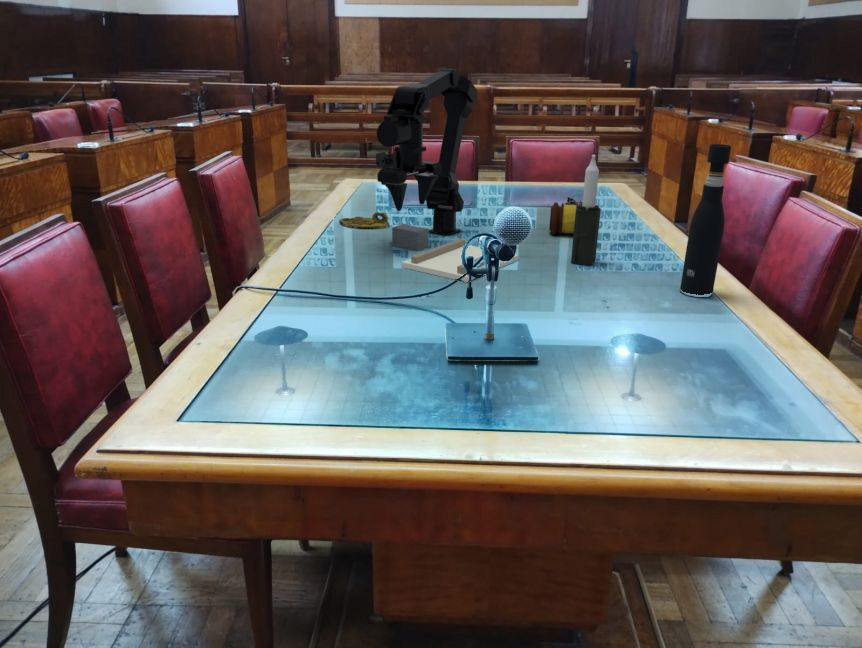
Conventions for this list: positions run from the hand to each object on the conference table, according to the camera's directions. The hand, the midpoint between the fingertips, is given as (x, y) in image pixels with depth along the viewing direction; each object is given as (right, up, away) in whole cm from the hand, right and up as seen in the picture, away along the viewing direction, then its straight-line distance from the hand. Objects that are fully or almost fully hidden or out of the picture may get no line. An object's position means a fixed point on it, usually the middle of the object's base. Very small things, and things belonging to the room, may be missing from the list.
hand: (410, 207), depth 170 cm
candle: (+41, -14, -7) cm, 44 cm away
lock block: (0, -9, +4) cm, 10 cm away
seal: (-14, -1, +24) cm, 28 cm away
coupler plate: (+12, -15, -9) cm, 21 cm away
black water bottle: (+60, -22, -26) cm, 69 cm away
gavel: (+44, -1, +28) cm, 53 cm away
